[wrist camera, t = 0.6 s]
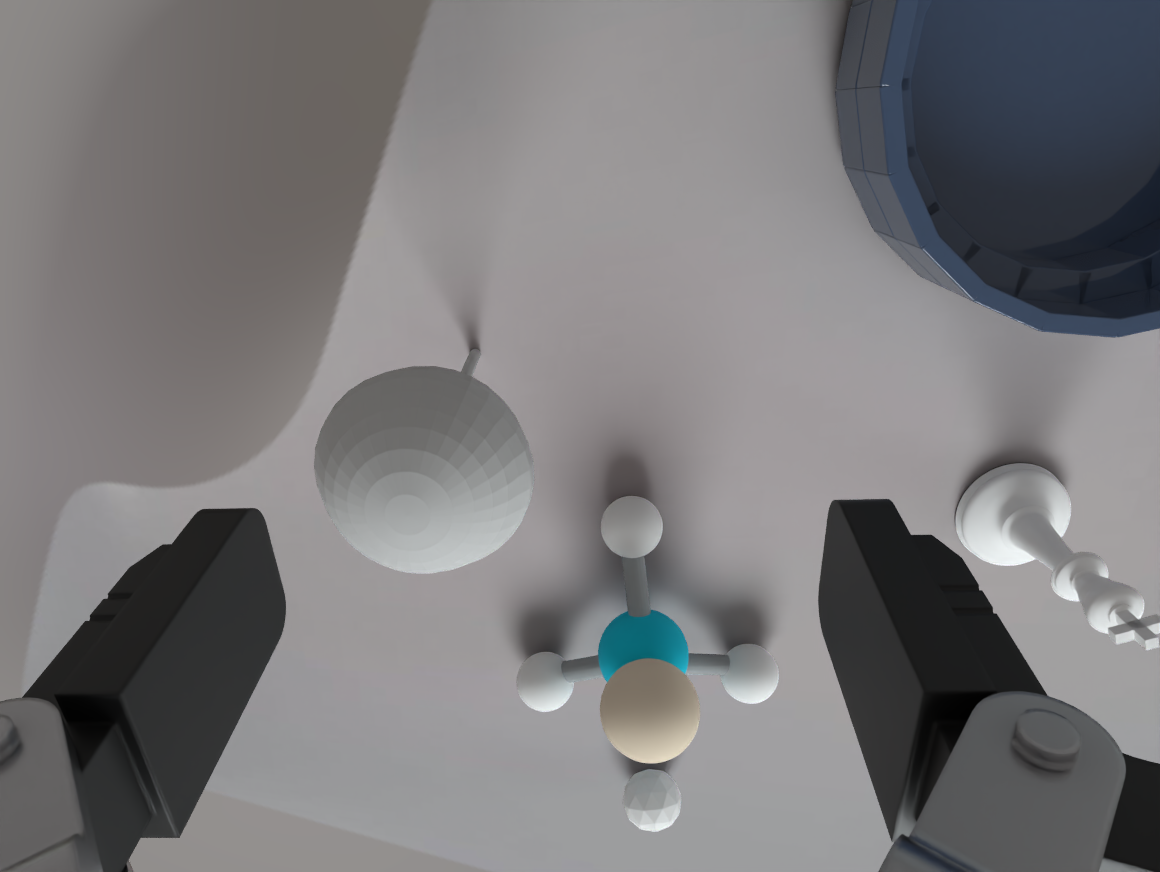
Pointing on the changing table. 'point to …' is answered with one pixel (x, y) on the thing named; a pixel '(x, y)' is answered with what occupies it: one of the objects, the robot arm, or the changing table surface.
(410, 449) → the lollipop
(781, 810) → the changing table surface
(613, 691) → the molecule model
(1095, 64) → the bowl
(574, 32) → the changing table surface
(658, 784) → the polyhedron
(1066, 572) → the chess piece
